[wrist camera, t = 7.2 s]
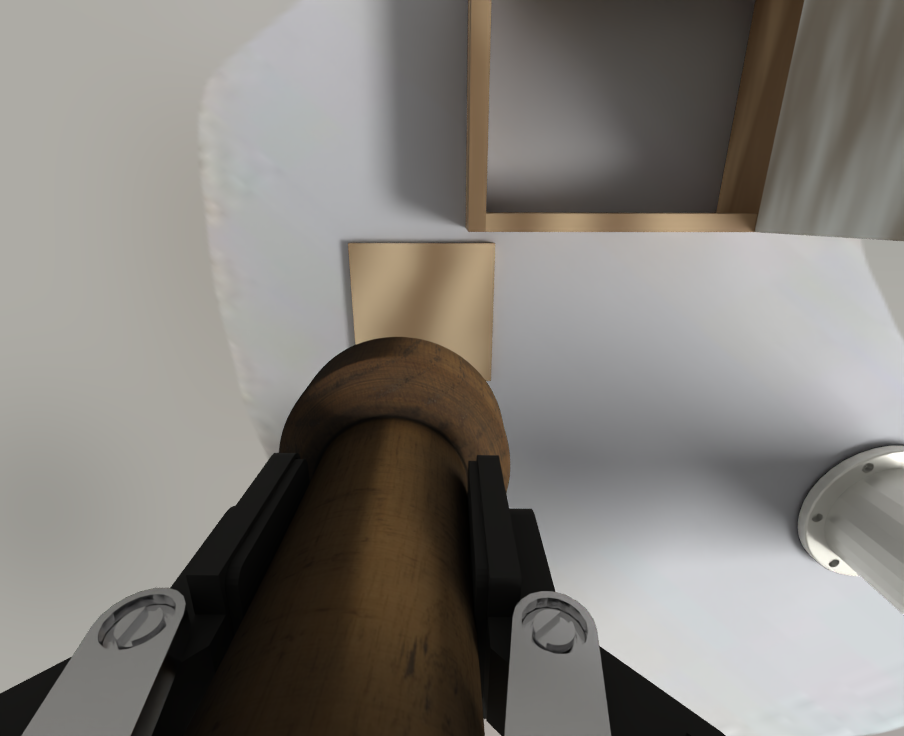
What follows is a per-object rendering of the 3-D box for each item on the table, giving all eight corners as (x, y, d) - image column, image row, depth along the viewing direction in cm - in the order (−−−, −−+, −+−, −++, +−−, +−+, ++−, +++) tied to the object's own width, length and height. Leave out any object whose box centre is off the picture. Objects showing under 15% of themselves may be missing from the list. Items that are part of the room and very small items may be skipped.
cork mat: (494, 242, 31) (495, 243, 31) (490, 377, 35) (490, 380, 34) (349, 242, 31) (347, 243, 31) (359, 378, 35) (357, 380, 34)
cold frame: (841, -23, 27) (2109, -764, 6) (782, 228, 31) (1397, 268, 11) (468, -24, 26) (528, -778, 6) (465, 227, 31) (494, 268, 11)
